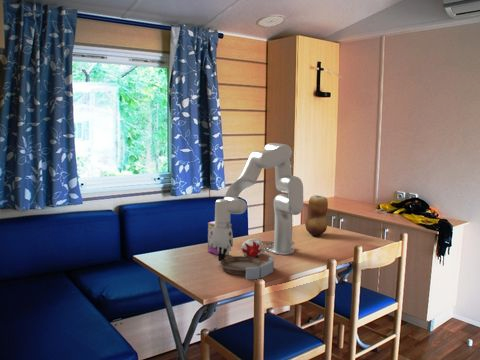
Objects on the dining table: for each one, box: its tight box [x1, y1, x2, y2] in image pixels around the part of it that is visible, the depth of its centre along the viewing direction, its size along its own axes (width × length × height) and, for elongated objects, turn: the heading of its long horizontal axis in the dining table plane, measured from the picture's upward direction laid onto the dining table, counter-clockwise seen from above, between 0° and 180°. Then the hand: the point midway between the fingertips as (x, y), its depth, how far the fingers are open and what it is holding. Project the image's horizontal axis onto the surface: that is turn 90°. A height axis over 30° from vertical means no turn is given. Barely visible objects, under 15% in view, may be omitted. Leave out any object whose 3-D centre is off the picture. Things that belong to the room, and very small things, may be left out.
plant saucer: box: [219, 255, 264, 275], centre depth 207 cm, size 21×21×3 cm
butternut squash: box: [304, 194, 329, 237], centre depth 269 cm, size 14×13×25 cm
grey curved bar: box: [245, 256, 275, 281], centre depth 201 cm, size 21×5×5 cm, turn 144°
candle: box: [240, 238, 263, 258], centre depth 225 cm, size 9×11×15 cm
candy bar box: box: [207, 220, 230, 257], centre depth 229 cm, size 11×5×16 cm, turn 51°
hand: (221, 260), depth 215 cm, fingers closed
